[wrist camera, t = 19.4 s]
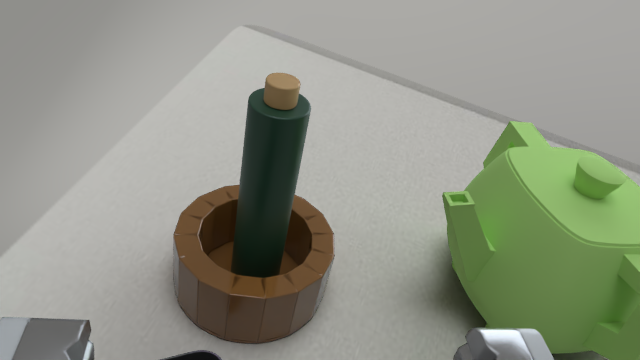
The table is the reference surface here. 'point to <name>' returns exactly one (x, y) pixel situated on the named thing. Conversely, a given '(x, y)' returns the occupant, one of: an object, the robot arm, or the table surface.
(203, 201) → the bowl
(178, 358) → the smartphone
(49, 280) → the table surface
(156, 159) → the table surface
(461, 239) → the teapot
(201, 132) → the table surface
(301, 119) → the green tube with cork
